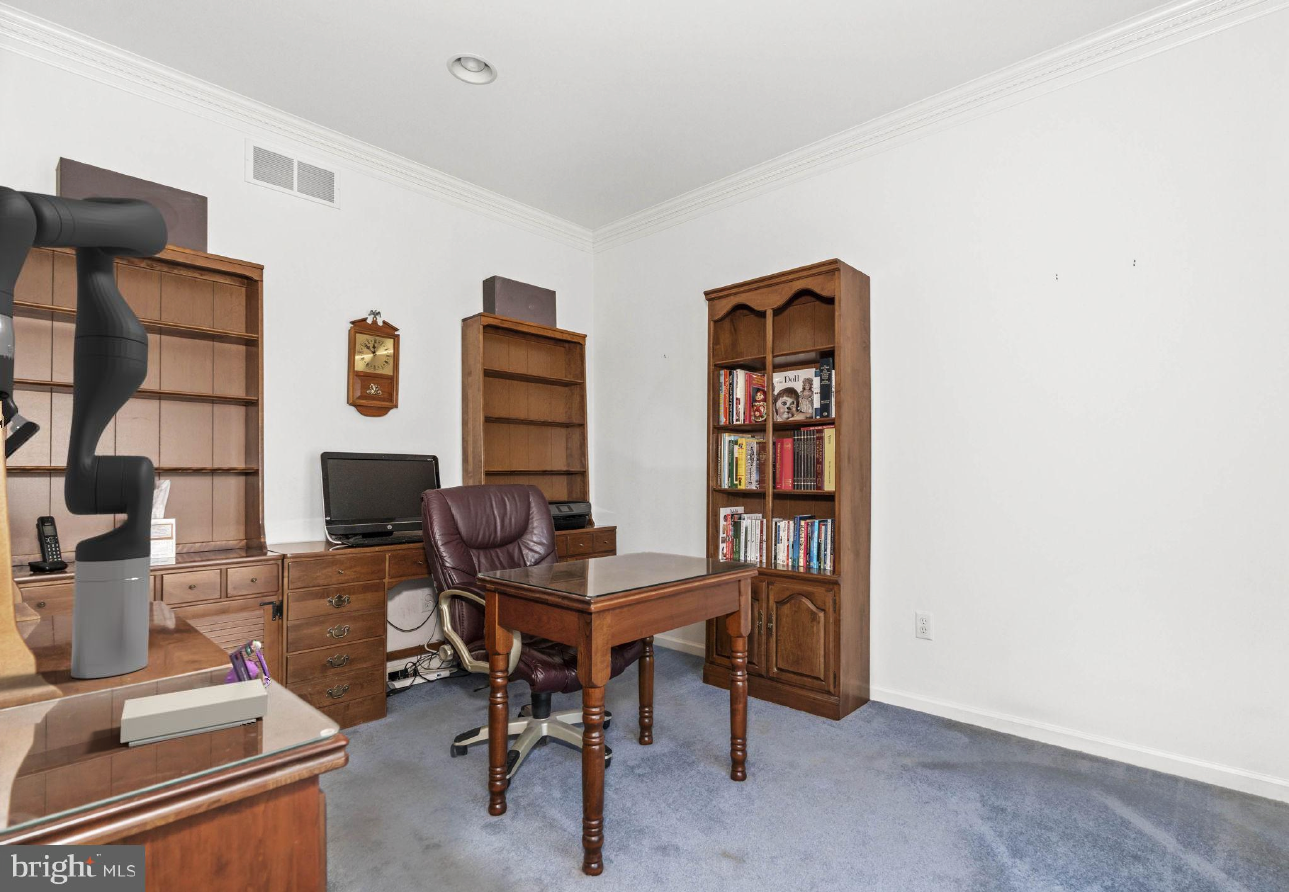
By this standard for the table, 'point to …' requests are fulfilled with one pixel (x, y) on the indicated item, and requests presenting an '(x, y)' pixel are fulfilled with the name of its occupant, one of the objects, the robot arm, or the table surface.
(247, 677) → the purple frame
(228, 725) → the mat
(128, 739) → the off-white rectangular block
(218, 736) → the table surface
